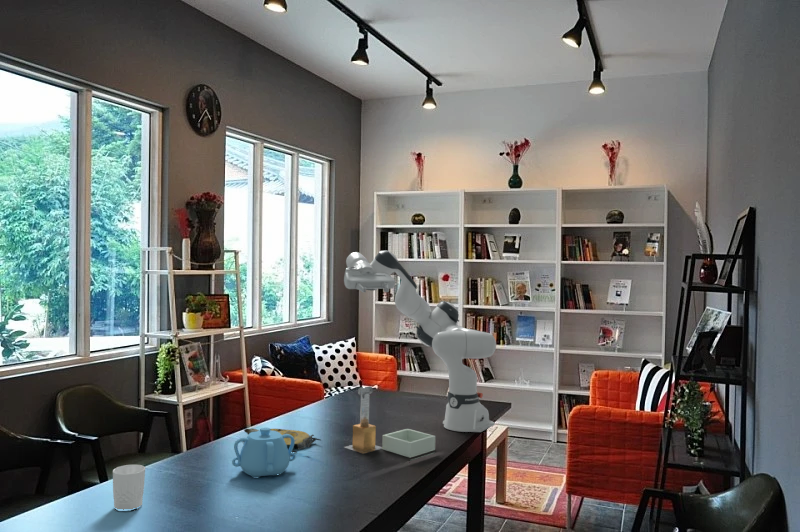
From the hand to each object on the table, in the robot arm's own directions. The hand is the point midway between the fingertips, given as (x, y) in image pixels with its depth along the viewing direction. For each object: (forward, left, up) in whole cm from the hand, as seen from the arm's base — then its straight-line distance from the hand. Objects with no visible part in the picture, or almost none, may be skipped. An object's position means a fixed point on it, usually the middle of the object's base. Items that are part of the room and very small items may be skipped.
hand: (375, 290), depth 248 cm
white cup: (+100, +11, -55) cm, 115 cm away
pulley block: (+38, -10, -55) cm, 67 cm away
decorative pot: (+58, +12, -55) cm, 81 cm away
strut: (+20, +17, -53) cm, 60 cm away
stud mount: (+20, +17, -55) cm, 61 cm away
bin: (+10, +29, -55) cm, 62 cm away
